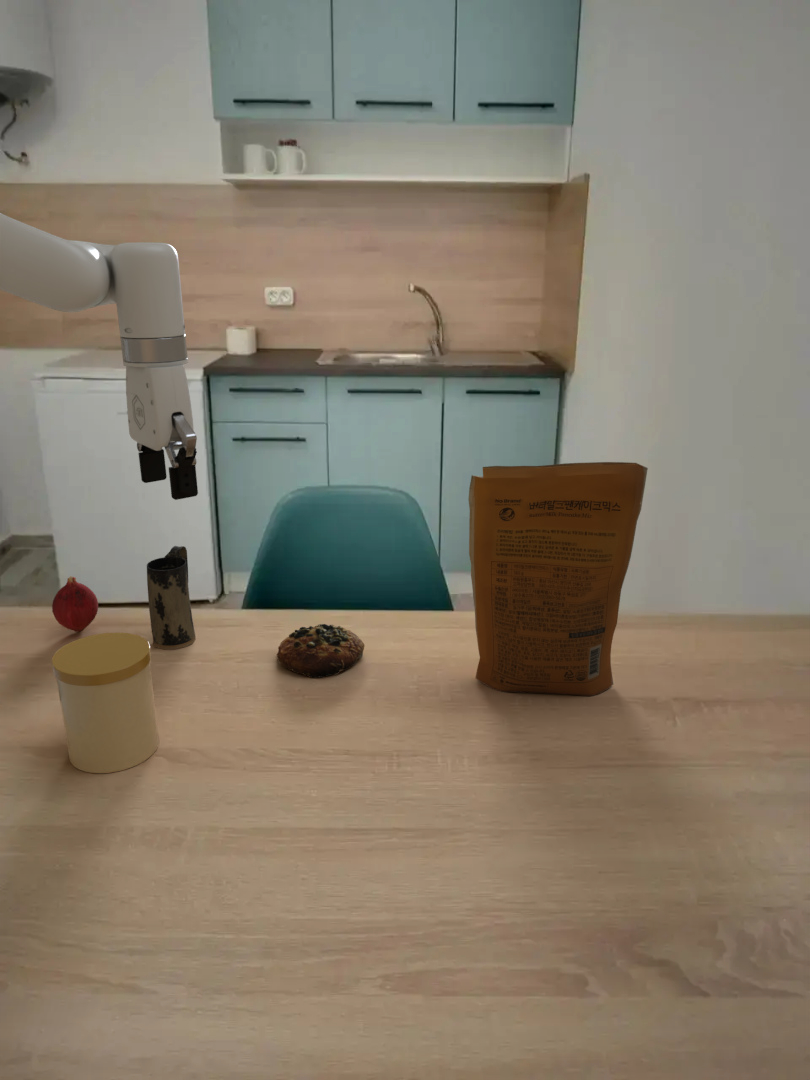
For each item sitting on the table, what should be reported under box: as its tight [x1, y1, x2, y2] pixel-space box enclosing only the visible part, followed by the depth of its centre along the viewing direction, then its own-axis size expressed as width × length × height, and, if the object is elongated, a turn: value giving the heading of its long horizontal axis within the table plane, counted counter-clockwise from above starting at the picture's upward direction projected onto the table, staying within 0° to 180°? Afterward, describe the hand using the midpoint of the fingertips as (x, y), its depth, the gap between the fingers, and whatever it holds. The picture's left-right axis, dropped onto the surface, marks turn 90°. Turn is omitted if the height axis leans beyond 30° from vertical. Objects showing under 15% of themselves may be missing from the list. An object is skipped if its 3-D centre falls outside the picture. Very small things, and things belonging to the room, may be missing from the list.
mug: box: [146, 545, 197, 651], centre depth 110 cm, size 8×6×12 cm
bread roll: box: [276, 623, 365, 679], centre depth 106 cm, size 11×11×5 cm
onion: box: [51, 575, 99, 633], centre depth 112 cm, size 6×6×8 cm
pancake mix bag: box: [468, 461, 649, 697], centre depth 94 cm, size 7×19×28 cm, turn 84°
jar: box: [51, 632, 160, 774], centre depth 85 cm, size 9×9×11 cm
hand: (169, 488), depth 105 cm, fingers open, 9 cm apart
